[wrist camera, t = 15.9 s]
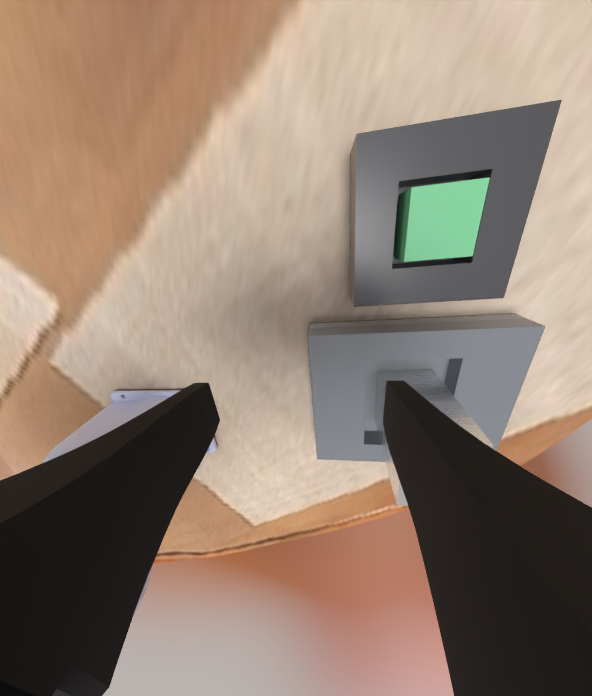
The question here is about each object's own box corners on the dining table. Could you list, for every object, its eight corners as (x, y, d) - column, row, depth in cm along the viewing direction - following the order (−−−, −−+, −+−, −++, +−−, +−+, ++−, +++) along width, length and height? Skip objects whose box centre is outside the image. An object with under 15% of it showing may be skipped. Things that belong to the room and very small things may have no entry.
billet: (374, 420, 20) (396, 505, 14) (376, 370, 18) (403, 444, 12) (424, 420, 19) (471, 509, 13) (432, 369, 17) (493, 445, 11)
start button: (393, 258, 14) (403, 261, 12) (399, 194, 12) (411, 187, 10) (452, 253, 13) (472, 256, 11) (465, 186, 12) (489, 177, 10)
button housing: (349, 295, 16) (354, 306, 14) (350, 154, 13) (356, 133, 10) (472, 286, 15) (503, 298, 13) (508, 130, 12) (561, 99, 9)
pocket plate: (318, 437, 23) (317, 459, 21) (309, 323, 18) (307, 336, 16) (473, 441, 21) (490, 465, 19) (514, 313, 16) (545, 326, 13)
